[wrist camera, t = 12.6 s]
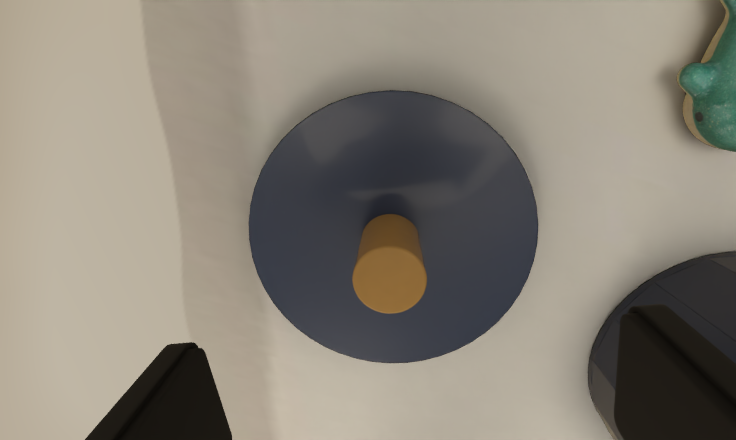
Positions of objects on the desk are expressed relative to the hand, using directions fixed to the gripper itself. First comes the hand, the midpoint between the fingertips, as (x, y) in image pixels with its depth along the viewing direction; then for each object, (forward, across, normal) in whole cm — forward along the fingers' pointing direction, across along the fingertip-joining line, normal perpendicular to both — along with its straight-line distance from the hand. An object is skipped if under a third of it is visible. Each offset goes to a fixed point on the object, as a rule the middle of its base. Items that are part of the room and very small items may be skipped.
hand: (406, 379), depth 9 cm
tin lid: (+12, +1, +1) cm, 12 cm away
